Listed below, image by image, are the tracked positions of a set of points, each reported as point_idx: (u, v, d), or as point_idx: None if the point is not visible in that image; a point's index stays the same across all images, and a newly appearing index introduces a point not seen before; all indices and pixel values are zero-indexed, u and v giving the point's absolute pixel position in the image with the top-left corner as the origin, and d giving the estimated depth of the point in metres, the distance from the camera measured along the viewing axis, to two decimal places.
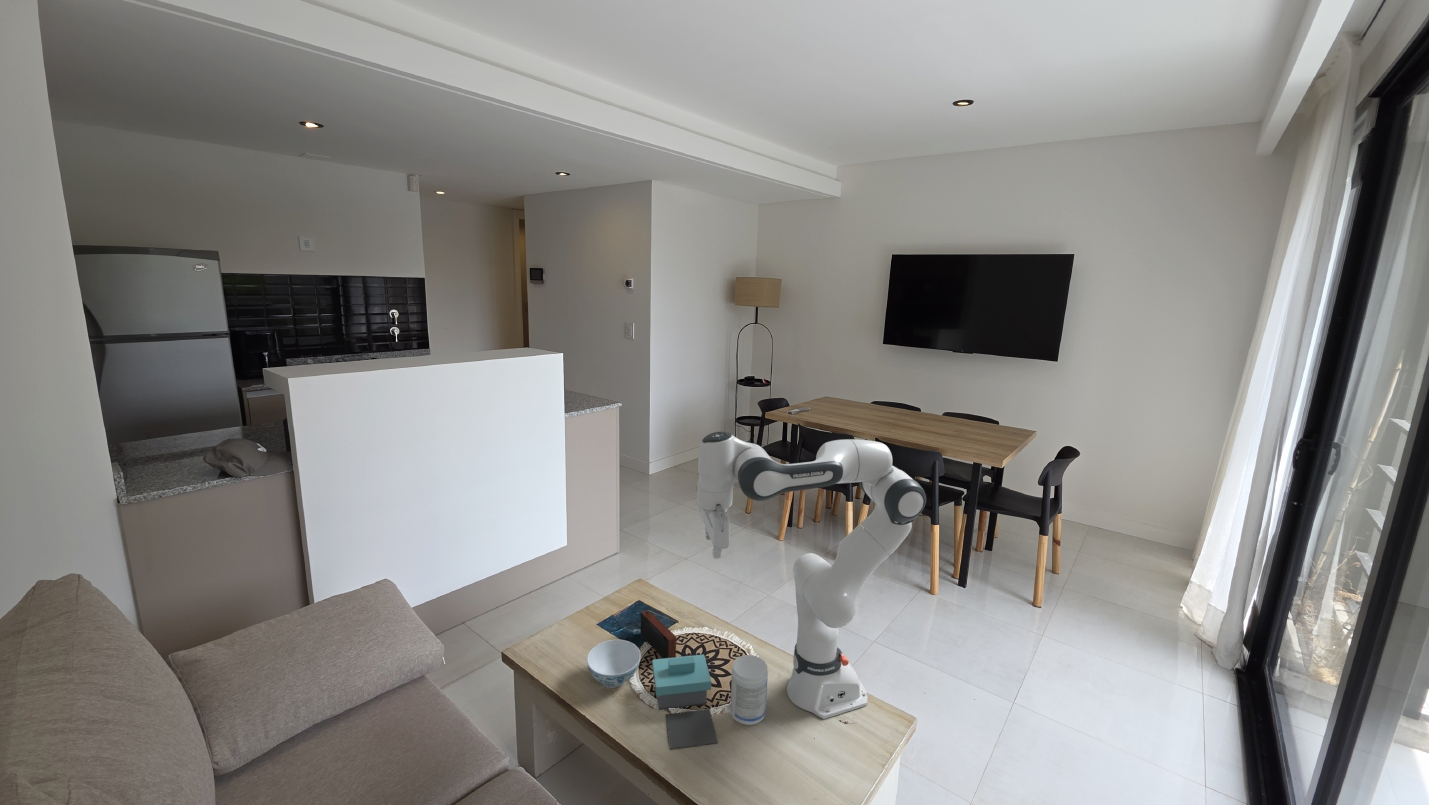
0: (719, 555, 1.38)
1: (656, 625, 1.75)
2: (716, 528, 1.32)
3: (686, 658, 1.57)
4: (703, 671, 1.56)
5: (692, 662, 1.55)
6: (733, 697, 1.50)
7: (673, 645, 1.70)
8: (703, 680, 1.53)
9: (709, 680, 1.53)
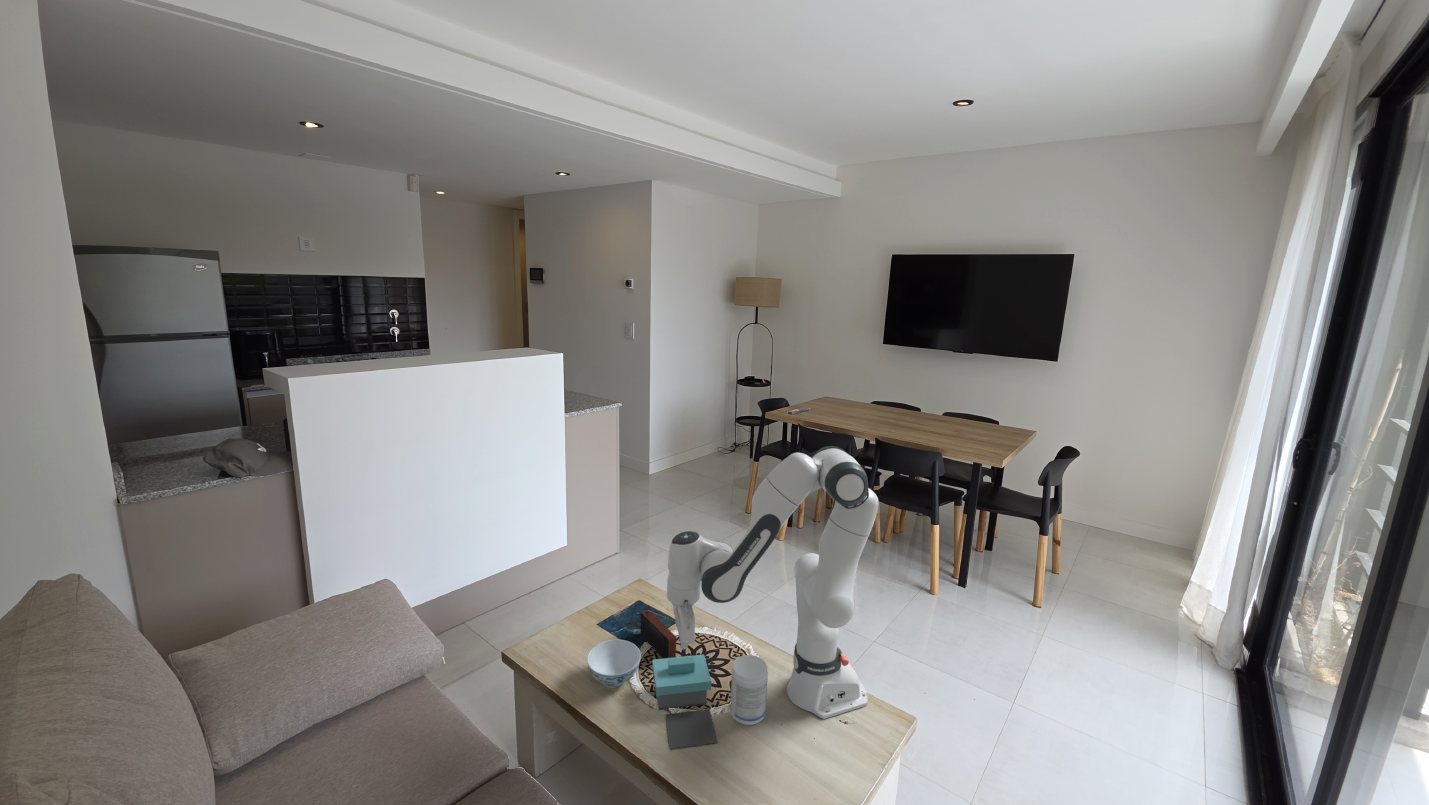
0: (686, 646, 1.49)
1: (656, 625, 1.75)
2: (682, 625, 1.42)
3: (686, 658, 1.57)
4: (703, 671, 1.56)
5: (692, 662, 1.55)
6: (733, 697, 1.50)
7: (673, 645, 1.70)
8: (703, 680, 1.53)
9: (709, 680, 1.53)
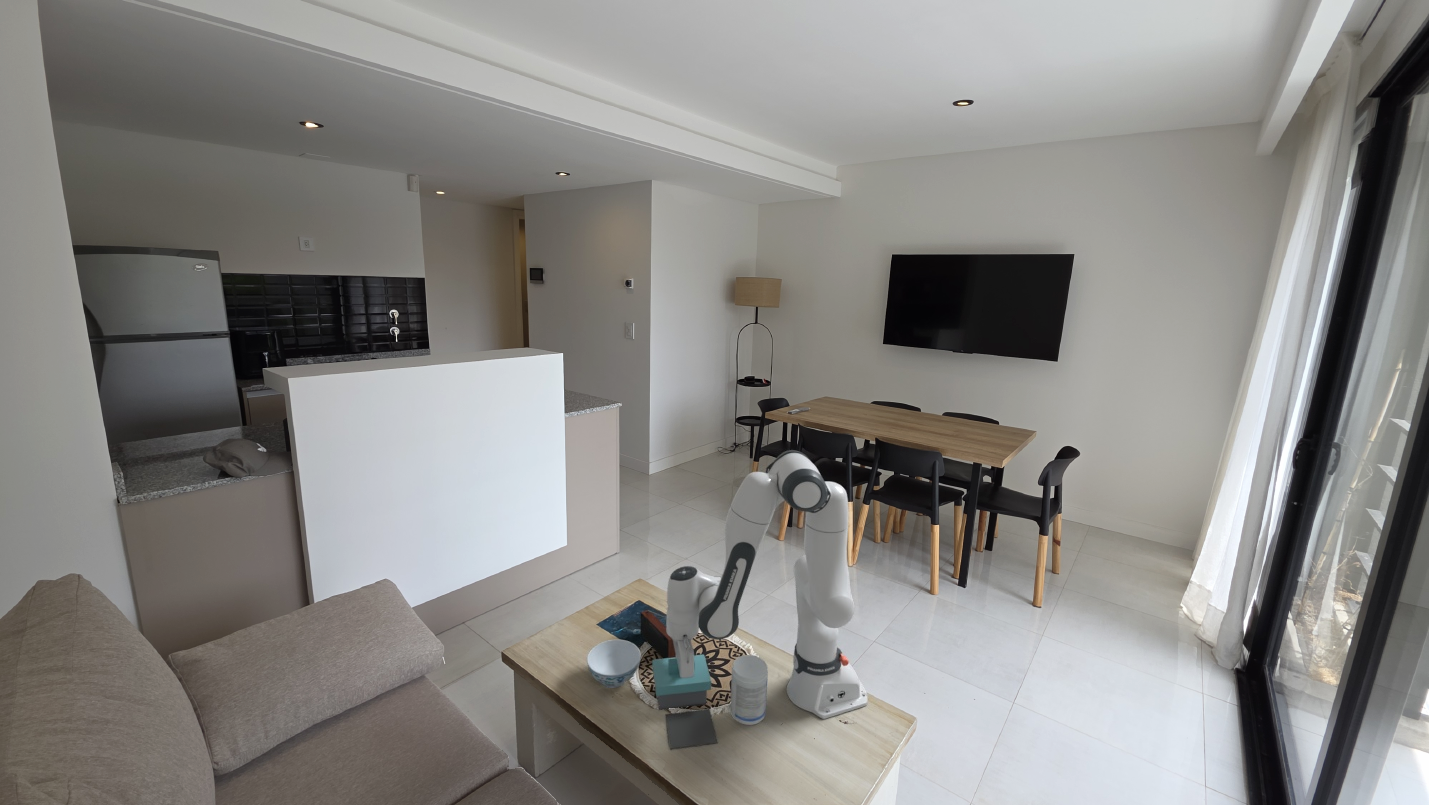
0: None
1: (656, 625, 1.75)
2: (682, 660, 1.45)
3: None
4: (703, 671, 1.56)
5: None
6: (733, 697, 1.50)
7: (673, 645, 1.70)
8: (703, 680, 1.53)
9: (709, 680, 1.53)
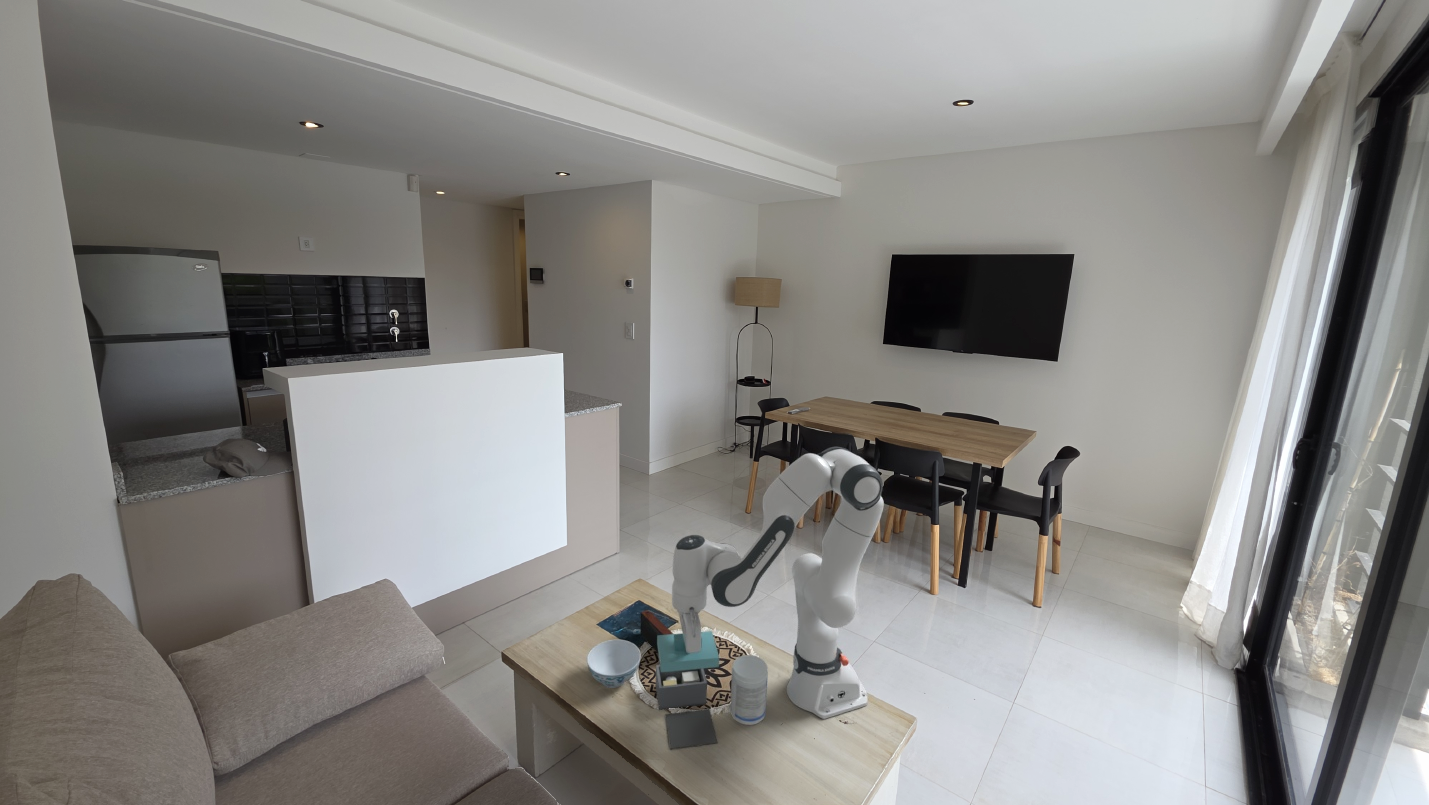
0: None
1: (656, 625, 1.75)
2: (688, 634, 1.36)
3: None
4: (711, 648, 1.48)
5: None
6: (733, 697, 1.50)
7: None
8: (711, 656, 1.45)
9: (717, 656, 1.44)
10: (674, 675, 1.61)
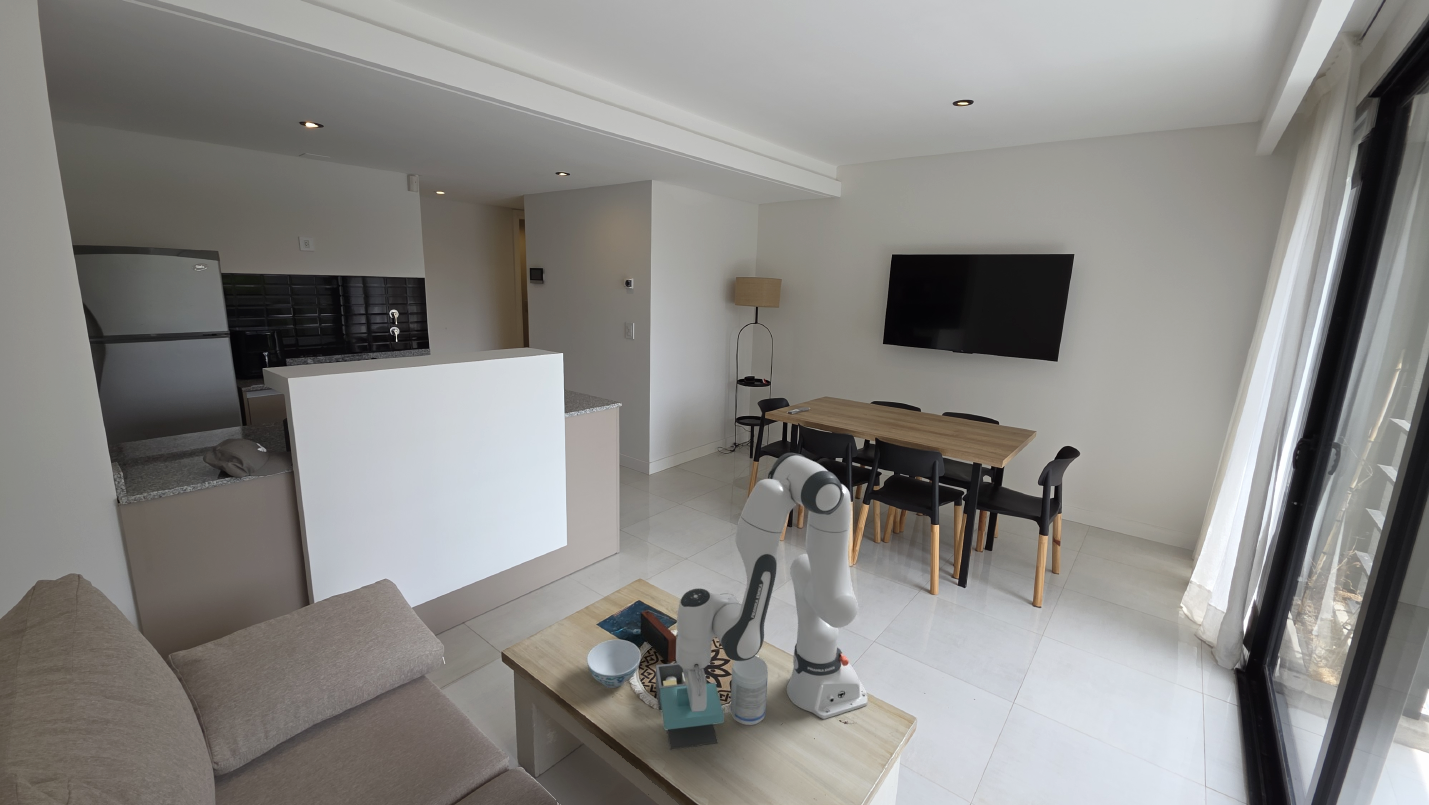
0: None
1: (656, 625, 1.75)
2: (693, 693, 1.33)
3: None
4: (715, 702, 1.45)
5: None
6: (733, 697, 1.50)
7: (673, 645, 1.70)
8: (715, 712, 1.42)
9: (721, 712, 1.42)
10: (674, 675, 1.61)
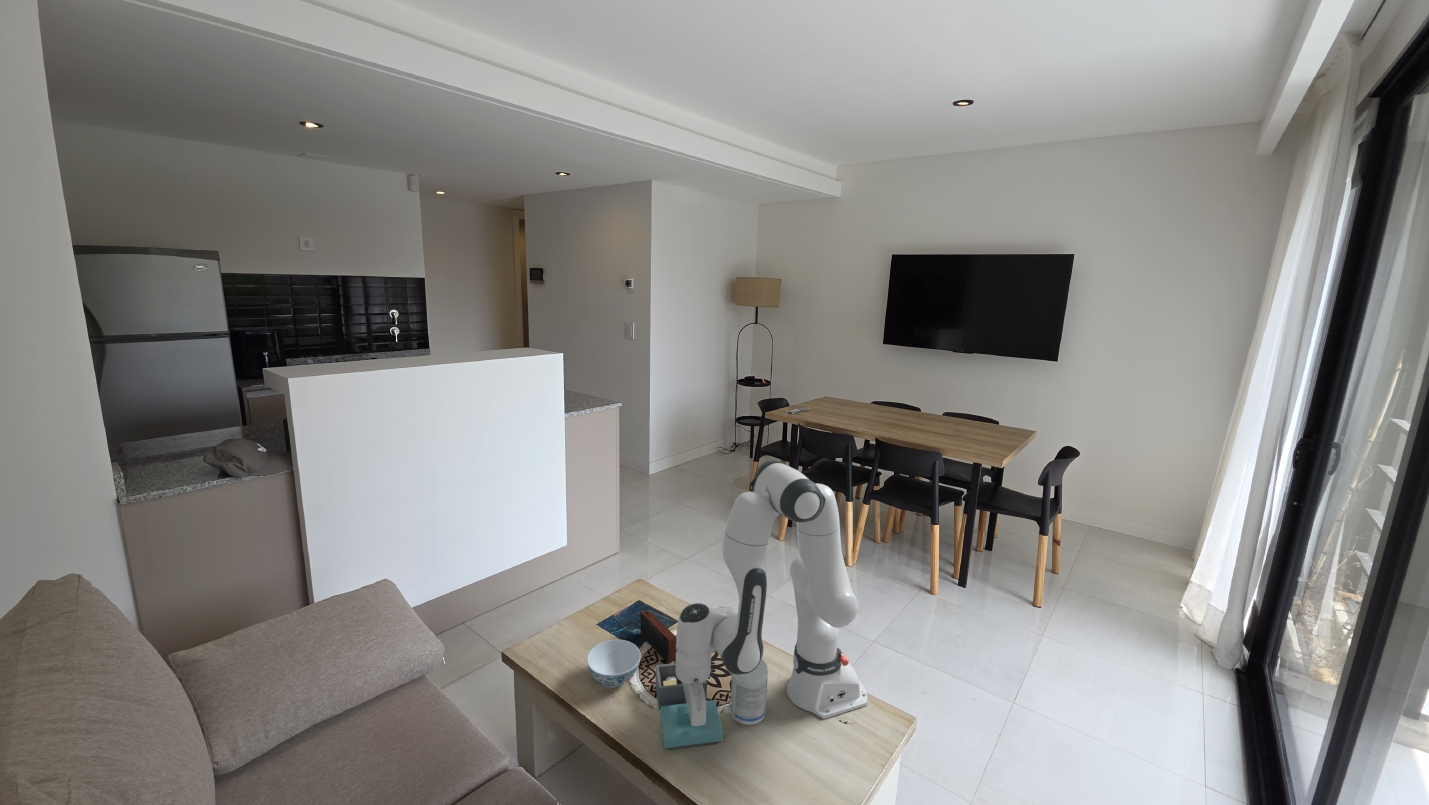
0: None
1: (656, 625, 1.75)
2: (693, 708, 1.34)
3: None
4: (715, 720, 1.46)
5: None
6: (733, 697, 1.50)
7: (673, 645, 1.70)
8: (715, 730, 1.43)
9: (721, 730, 1.43)
10: (674, 675, 1.61)
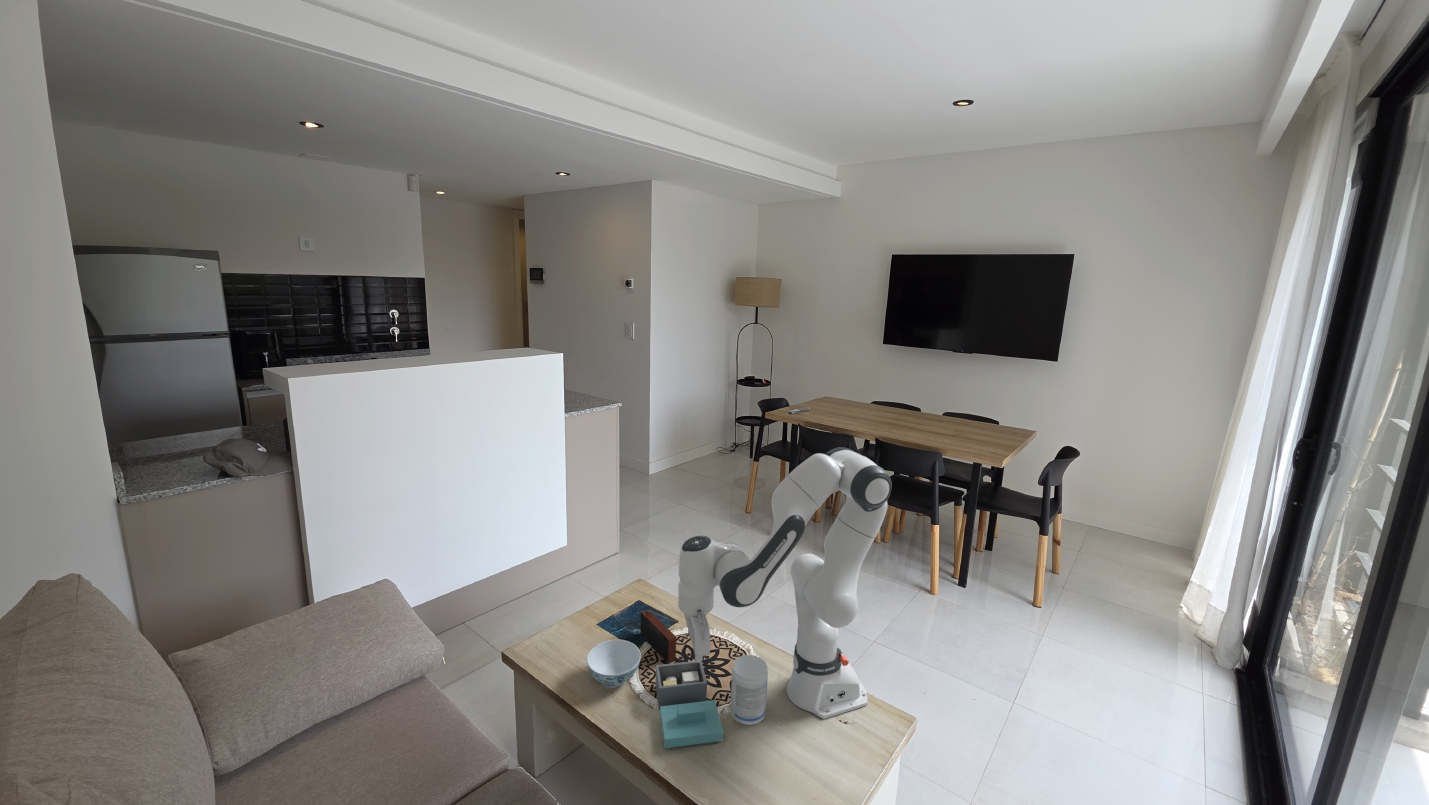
0: (701, 658, 1.40)
1: (656, 625, 1.75)
2: (697, 637, 1.33)
3: (696, 706, 1.47)
4: (715, 720, 1.46)
5: (703, 710, 1.46)
6: (733, 697, 1.50)
7: (673, 645, 1.70)
8: (715, 730, 1.43)
9: (721, 730, 1.43)
10: (674, 675, 1.61)
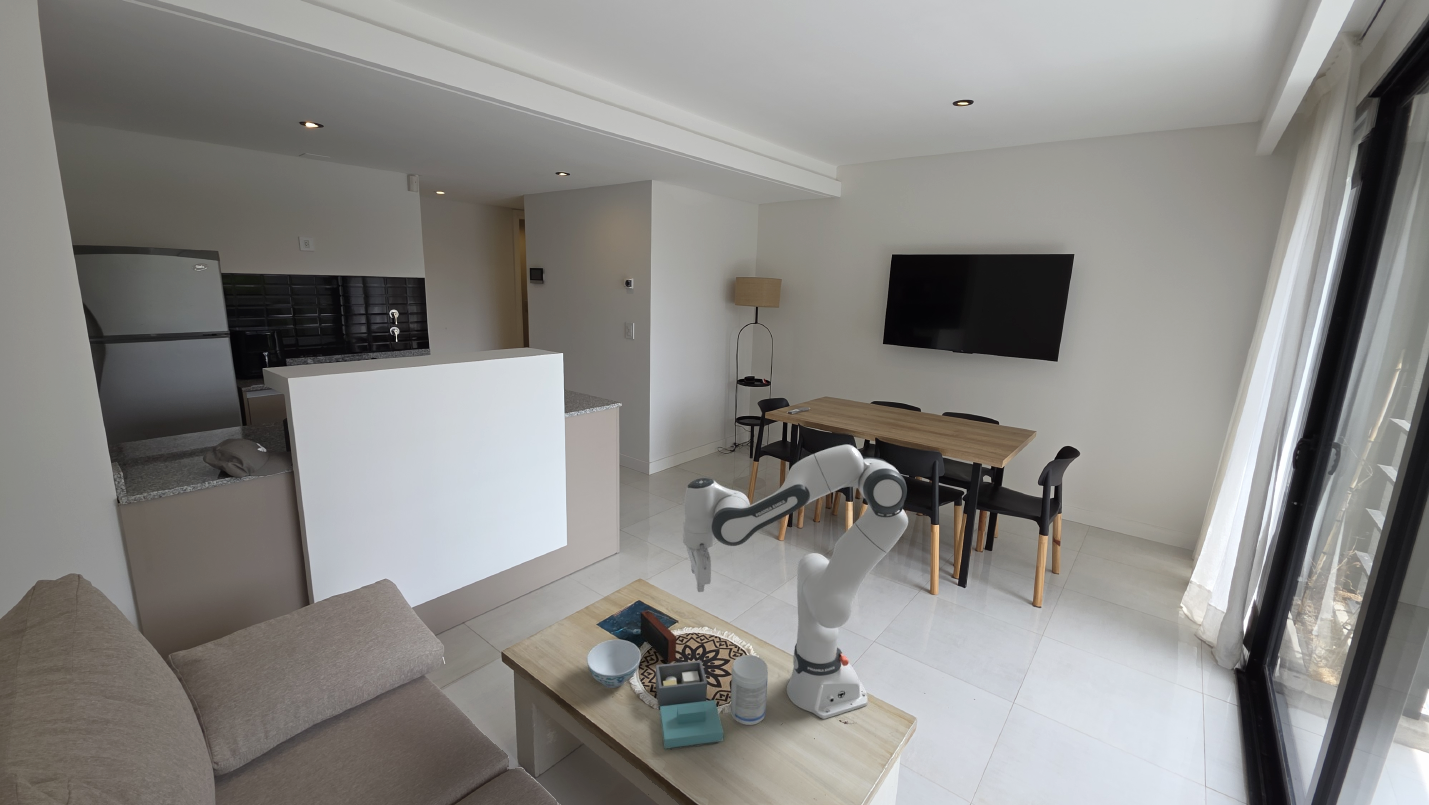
0: (703, 589, 1.53)
1: (656, 625, 1.75)
2: (699, 566, 1.47)
3: (696, 706, 1.47)
4: (715, 720, 1.46)
5: (703, 710, 1.46)
6: (733, 697, 1.50)
7: (673, 645, 1.70)
8: (715, 730, 1.43)
9: (721, 730, 1.43)
10: (674, 675, 1.61)
